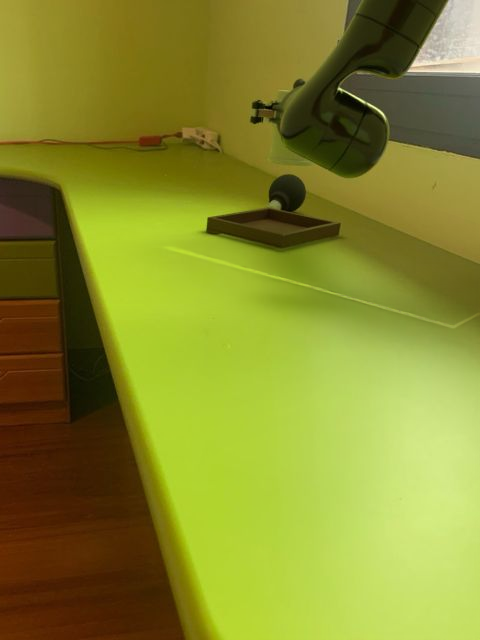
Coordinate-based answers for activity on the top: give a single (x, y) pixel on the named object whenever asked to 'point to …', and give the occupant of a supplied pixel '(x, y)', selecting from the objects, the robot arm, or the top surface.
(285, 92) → the white cylinder with knob
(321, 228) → the tray
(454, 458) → the top surface
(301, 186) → the light bulb
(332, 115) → the robot arm
